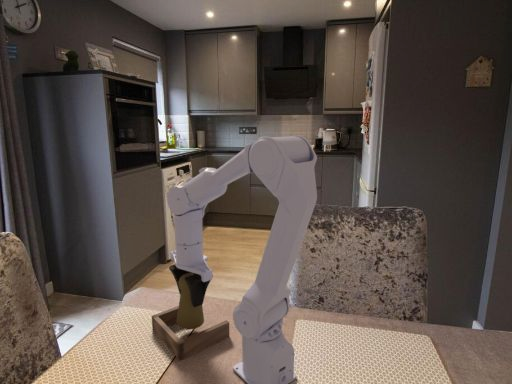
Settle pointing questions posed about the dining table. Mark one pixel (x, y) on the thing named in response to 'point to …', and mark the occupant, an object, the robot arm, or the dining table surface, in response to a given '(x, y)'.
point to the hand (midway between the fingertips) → (191, 300)
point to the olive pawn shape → (188, 308)
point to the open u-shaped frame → (190, 343)
